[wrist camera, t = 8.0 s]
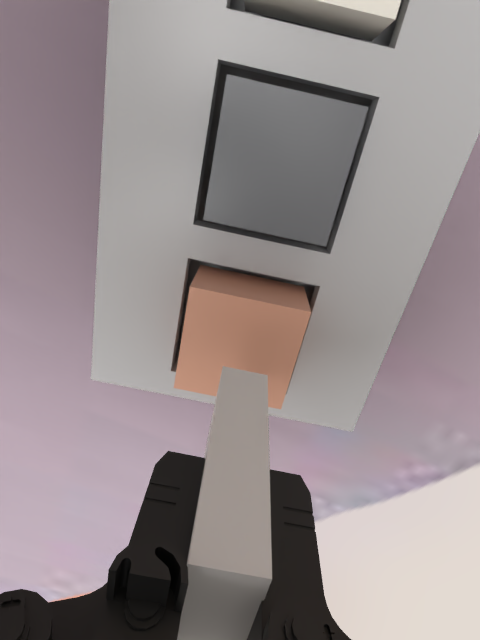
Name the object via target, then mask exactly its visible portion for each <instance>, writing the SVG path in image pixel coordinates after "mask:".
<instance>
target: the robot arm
mask: <svg viewBox="0 0 480 640" xmlns="http://www.w3.org/2000/svg"><path fill="white" fill-rule="evenodd" d="M312 513H313V510H312V502H311V495H310V492H309V490H308V488H307V486H306V485H305V483H304V481H303V479H302V477H301V476H300V475H296V474H290V473H285V472H280V471H275V470H270V462H269V417H268V375H264V374H259V373H254V372H249V371H245V370H240V369H235V368H230V367H225V366H223V368H222V372H221V377H220V382H219V386H218V391H217V396H216V400H215V405H214V410H213V414H212V419H211V423H210V428H209V433H208V439H207V444H206V449H205V455H204V458H201V457H196V456H191V455H186V454H181V453H175V452H170V451H168V452H167V453H166V454H165V455H164V456H163V457H162V458H161V459H160V460H159V461H158V462H157V463H156V464H155V467H154V470H153V473H152V476H151V479H150V482H149V486H148V488H147V491H146V494H145V497H144V501H143V503H142V506H141V509H140V512H139V515H138V518H137V521H136V524H135V527H134V530H133V533H132V536H131V539H130V542H129V545H128V546H127V547H126V548H125V549H124V550H123V551H121V552H120V553H119V554H118V555H117V556H116V558H115V560H114V561H113V563H112V565H111V567H110V568H109V573H108V582H107V583H106V584H105V585H104V586H103V587H101V588H100V589H98V590H96V591H94V592H92V593H90V594H87V595H84V596H80V597H77V598H71V599H66V600H60V601H55V602H49V603H48V602H47V601H46V600H45V599H44V598H43V597H41V596H40V595H39V594H38V593H37V592H32V591H28V590H23V589H20V590H14V591H8V592H4V593H2V594H0V640H351V639H350V638H349V637H348V636H347V635H346V634H345V633H344V632H343V631H342V630H341V629H340V628H339V626H338V625H337V624H336V622H335V621H334V619H333V618H332V616H331V614H330V611H329V609H328V607H327V604H326V600H325V596H324V590H323V583H322V576H321V568H320V561H319V554H318V546H317V539H316V532H315V524H314V517H313V516H312Z"/></svg>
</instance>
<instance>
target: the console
mask: <svg viewBox="0 0 480 640" xmlns="http://www.w3.org/2000/svg"><path fill="white" fill-rule="evenodd" d="M227 74H229V75H233V76H238V77H242V78H246V79H250V80H255V81H259V82H263V83H267V84H272V85H276V86H280V87H285V88H289V89H293V90H297V91H302V92H306V93H310V94H315V95H319V96H323V97H327V98H332V99H336V100H340V101H344V102H349V103H353V104H357V105H362V106H366V107H369V108H368V111H367V114H366V117H365V121H364V124H363V127H362V131H361V134H360V137H359V140H358V144H357V147H356V150H355V153H354V157H353V160H352V163H351V167H350V170H349V173H348V176H347V180H346V183H345V186H344V189H343V193H342V196H341V199H340V202H339V206H338V209H337V212H336V216H335V219H334V222H333V225H332V229H331V232H330V235H329V238H328V242H327V245H326V247H325V246H321V245H316V244H312V243H307V242H302V241H298V240H293V239H289V238H284V237H279V236H275V235H270V234H266V233H261V232H257V231H252V230H247V229H243V228H238V227H234V226H229V225H224V224H220V223H215V222H211V221H206V220H203V218H204V212H205V206H206V199H207V193H208V187H209V181H210V175H211V169H212V162H213V156H214V150H215V144H216V138H217V132H218V126H219V119H220V113H221V107H222V101H223V95H224V89H225V83H226V76H227ZM479 133H480V0H401V3H400V6H399V10H398V13H397V16H396V19H395V20H394V21H393V22H392V23H391V24H390V25H389V26H388V27H387V28H386V29H384V30H383V31H382V32H381V33H380V34H379V35H378V36H377V37H376V38H374V39H373V40H372V41H368V40H364V39H360V38H356V37H352V36H348V35H343V34H339V33H335V32H331V31H327V30H323V29H319V28H314V27H310V26H306V25H302V24H298V23H294V22H289V21H285V20H281V19H277V18H273V17H269V16H265V15H260V14H256V13H252V12H248V11H245V3H244V0H109V14H108V35H107V56H106V77H105V97H104V118H103V139H102V159H101V180H100V201H99V222H98V242H97V263H96V284H95V304H94V325H93V346H92V367H91V380H94V381H99V382H104V383H109V384H114V385H119V386H125V387H130V388H135V389H140V390H145V391H150V392H155V393H160V394H165V395H170V396H175V397H180V398H185V399H190V400H195V401H200V402H205V403H210V404H215V400H216V396H211V395H206V394H201V393H196V392H191V391H186V390H181V389H176V388H174V382H175V376H176V370H177V363H178V357H179V351H180V344H181V338H182V332H183V326H184V319H185V313H186V307H187V301H188V294H189V288H190V285H191V283H192V281H193V279H194V277H195V275H196V273H197V271H198V269H199V267H200V265H205V266H209V267H214V268H219V269H223V270H228V271H233V272H237V273H242V274H247V275H251V276H256V277H261V278H265V279H270V280H275V281H279V282H284V283H289V284H294V285H298V286H303V287H304V288H305V292H306V295H307V299H308V302H309V306H310V309H311V315H310V318H309V321H308V324H307V328H306V331H305V334H304V337H303V340H302V344H301V347H300V350H299V353H298V356H297V360H296V363H295V366H294V369H293V372H292V376H291V379H290V382H289V385H288V388H287V392H286V395H285V398H284V401H283V404H282V408H281V409H276V408H271V407H268V415H270V416H275V417H280V418H285V419H290V420H295V421H300V422H305V423H310V424H315V425H320V426H325V427H330V428H335V429H340V430H345V431H350V432H353V430H354V427H355V425H356V422H357V420H358V418H359V415H360V413H361V411H362V408H363V406H364V404H365V401H366V399H367V397H368V394H369V392H370V389H371V387H372V385H373V382H374V380H375V378H376V375H377V373H378V371H379V368H380V366H381V364H382V361H383V359H384V356H385V354H386V352H387V349H388V347H389V345H390V342H391V340H392V338H393V335H394V333H395V331H396V328H397V326H398V323H399V321H400V319H401V316H402V314H403V312H404V309H405V307H406V305H407V302H408V300H409V298H410V295H411V293H412V290H413V288H414V286H415V283H416V281H417V279H418V276H419V274H420V272H421V269H422V267H423V265H424V262H425V260H426V257H427V255H428V253H429V250H430V248H431V246H432V243H433V241H434V239H435V236H436V234H437V232H438V229H439V227H440V224H441V222H442V220H443V217H444V215H445V213H446V210H447V208H448V206H449V203H450V201H451V199H452V196H453V194H454V191H455V189H456V187H457V184H458V182H459V180H460V177H461V175H462V173H463V170H464V168H465V166H466V163H467V161H468V158H469V156H470V154H471V151H472V149H473V147H474V144H475V142H476V140H477V137H478V135H479Z"/></svg>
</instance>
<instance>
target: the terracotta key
mask: <svg viewBox="0 0 480 640" xmlns="http://www.w3.org/2000/svg"><path fill="white" fill-rule="evenodd" d="M310 315H311V309H310V306H309V302H308V299H307V295H306V292H305V288H304V287H303V286H298V285H294V284H289V283H284V282H279V281H275V280H270V279H265V278H261V277H256V276H251V275H247V274H242V273H237V272H233V271H228V270H223V269H219V268H214V267H209V266H205V265H200V267H199V269H198V271H197V273H196V275H195V277H194V279H193V281H192V283H191V285H190V288H189V294H188V301H187V307H186V313H185V319H184V326H183V332H182V338H181V344H180V351H179V357H178V363H177V370H176V376H175V382H174V388H176V389H181V390H186V391H191V392H196V393H201V394H206V395H211V396H217V391H218V386H219V382H220V377H221V372H222V368H223V366H225V367H230V368H235V369H240V370H245V371H249V372H254V373H259V374H264V375H268V407H271V408H276V409H281V408H282V404H283V401H284V398H285V395H286V392H287V388H288V385H289V382H290V379H291V376H292V372H293V369H294V366H295V363H296V360H297V356H298V353H299V350H300V347H301V344H302V340H303V337H304V334H305V331H306V328H307V324H308V321H309V318H310Z"/></svg>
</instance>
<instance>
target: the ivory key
mask: <svg viewBox="0 0 480 640" xmlns="http://www.w3.org/2000/svg"><path fill="white" fill-rule="evenodd" d="M244 3H245V11H248V12H252V13H256V14H260V15H265V16H269V17H273V18H277V19H281V20H285V21H289V22H294V23H298V24H302V25H306V26H310V27H314V28H319V29H323V30H327V31H331V32H335V33H339V34H343V35H348V36H352V37H356V38H360V39H364V40H368V41H372V40H373V39H374V38H376V37H377V36H378V35H379V34H380V33H381V32H382V31H383V30H384V29H386V28H387V27H388V26H389V25H390V24H391V23H392V22H393V21H394V20H395V19H396V16H397V13H398V10H399V6H400V3H401V0H244Z"/></svg>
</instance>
